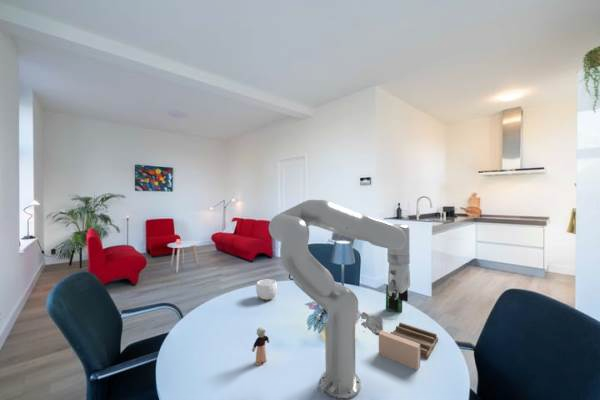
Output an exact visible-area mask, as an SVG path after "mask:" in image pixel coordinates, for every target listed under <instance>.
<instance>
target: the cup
mask: <svg viewBox="0 0 600 400" xmlns="http://www.w3.org/2000/svg"><path fill="white" fill-rule="evenodd" d="M255 286H256V287H255V289H256V290H255V291H256V295H257V297H258V298H260V299H261V300H262V301H271V300H272V299H273V298H275V297H276V295H277V292H278V285H277V281H276V280H275V279H272V278H265V279H260V280H258V281H256V285H255Z"/></svg>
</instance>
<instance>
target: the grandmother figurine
mask: <svg viewBox="0 0 600 400" xmlns="http://www.w3.org/2000/svg"><path fill="white" fill-rule="evenodd" d="M266 332H267V331H266V328H265V327H264V326H260V327H258V328H257V329H256V335H257V338H256V340H255V342H254V343H253V346H252V349H251V352H252V353H255V362H254V363H255V365H256V366H257V367H260V366H261V365H262V363H266V362H267V353H266V352H267V351H266V343H267V344H269V343H270V342H271V341H270V339H269V337H268V336H267V335H266ZM255 350H256V352H255Z"/></svg>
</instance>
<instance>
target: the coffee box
mask: <svg viewBox="0 0 600 400" xmlns="http://www.w3.org/2000/svg"><path fill="white" fill-rule="evenodd" d="M394 290H397V289H394ZM393 293H394V294H396V293H395V292H393ZM388 296H389V295H388V283H387V284H386V286H385V310H386V311H387V312H388V311H389V312H399V313H400V312H401V313H403V301H402V300H399V294H398V298H397V299H398V311H396V310H392V309H389V298H388Z"/></svg>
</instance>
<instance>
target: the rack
mask: <svg viewBox="0 0 600 400" xmlns="http://www.w3.org/2000/svg"><path fill="white" fill-rule="evenodd" d="M390 333H391V334H394V335H397V336H399V337H402V338H405V339H408V340H411V341H414V342H416V343H419V344H420V358H424V359H427V360H428V359H429V357H431V356H430V355H431V353H432V351H433V350H434V348H435V347H436V345H437V343H438V341H439V337H438V336H437V333H435V332H432V331H428V330H425V329H421V328H419V327H415V326H412V325H409V324H406V323H403V322H399V324H398V325H396V327H395V329H394V330H393V331H390Z"/></svg>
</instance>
